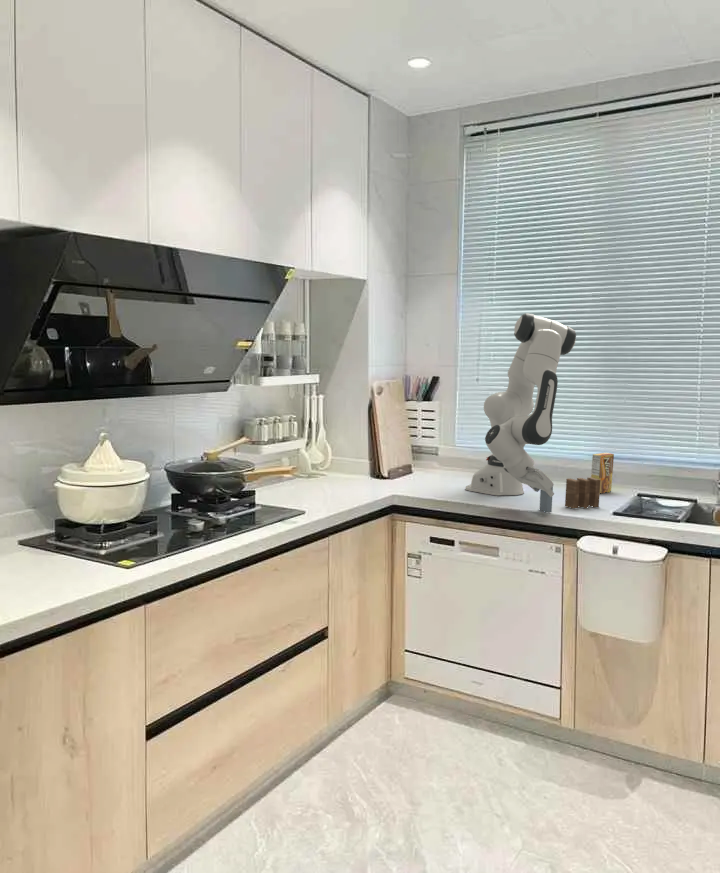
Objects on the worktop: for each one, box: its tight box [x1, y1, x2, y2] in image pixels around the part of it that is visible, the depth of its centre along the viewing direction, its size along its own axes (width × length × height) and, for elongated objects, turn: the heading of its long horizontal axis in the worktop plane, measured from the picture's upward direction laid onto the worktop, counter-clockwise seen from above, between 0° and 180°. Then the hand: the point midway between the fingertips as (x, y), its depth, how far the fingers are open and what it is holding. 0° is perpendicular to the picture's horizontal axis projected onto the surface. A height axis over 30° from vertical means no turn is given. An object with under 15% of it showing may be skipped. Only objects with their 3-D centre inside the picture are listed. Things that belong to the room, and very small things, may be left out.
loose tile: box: [539, 486, 554, 513], centre depth 272 cm, size 2×5×10 cm, turn 17°
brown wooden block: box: [586, 476, 601, 508], centre depth 282 cm, size 2×5×10 cm, turn 22°
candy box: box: [590, 452, 615, 494], centre depth 309 cm, size 9×4×15 cm, turn 129°
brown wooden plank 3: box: [576, 477, 590, 509], centre depth 281 cm, size 2×5×10 cm, turn 22°
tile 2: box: [564, 478, 579, 509], centre depth 279 cm, size 2×5×10 cm, turn 22°
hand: (544, 492), depth 271 cm, fingers open, 8 cm apart
